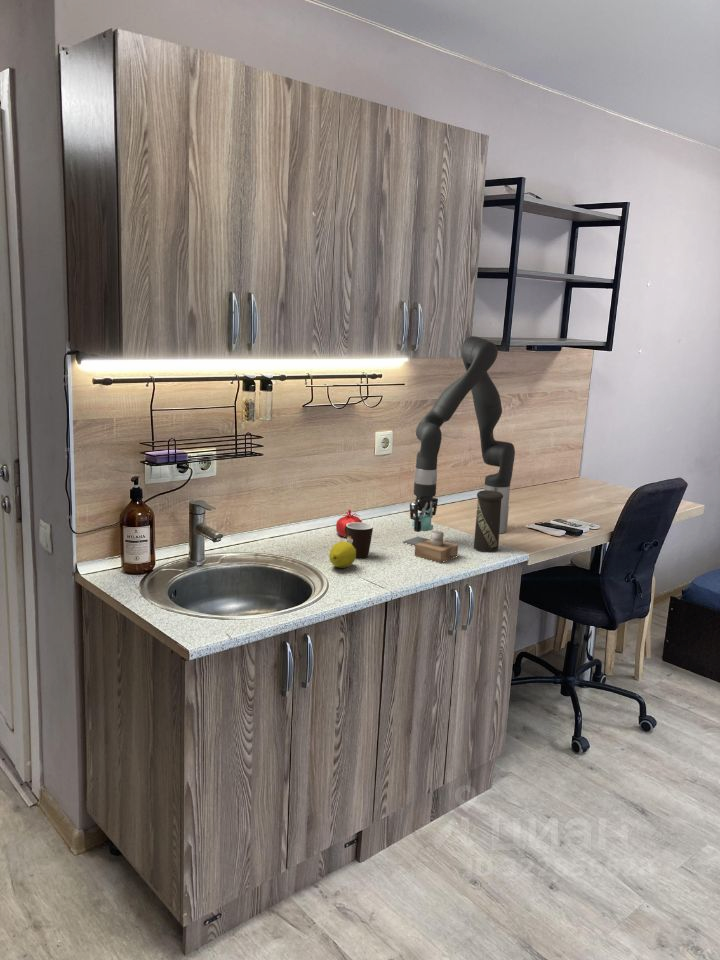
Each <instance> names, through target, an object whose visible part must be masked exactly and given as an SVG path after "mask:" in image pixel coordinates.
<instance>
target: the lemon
mask: <svg viewBox="0 0 720 960" xmlns="http://www.w3.org/2000/svg"><path fill="white" fill-rule="evenodd" d="M328 557H329V561H330V563H331V564H332V565H333V566H334V567H336V568H338V569H339V568H341V569H344V568H348V567H350V566H351V565H352V564H353V563H355V560H356V559H355V558H356V550H355V548H354V546H353V545H352V544H350V543H349V542H347V541H345V540H343V541H339V542H337V543H335V544H333V546H332V547H331V548H330V550H329V553H328Z"/></svg>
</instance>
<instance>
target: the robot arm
mask: <svg viewBox="0 0 720 960" xmlns="http://www.w3.org/2000/svg"><path fill="white" fill-rule="evenodd" d="M460 354H461V360H462V362H463V365H464V367H465V372H464V374H463V375H462V376H461V377H459V378H458V379H457V380H455V381H453V382H452V383H451V384H450V385H449V386H447V387H446V388H445V389H443V391H442V392H441V393H440V395H439V397H438V398H437V400H436V402H435V403H434V405H433V407H432V408H431V409H430V410H429V411H428V412H427V413H426V414H425V416H424V417H422V419H421V420H420V422H419V423H418V424H417V427H416V430H415V436H416V438H417V439H418V440H419V441H420V450H419V451H418V452H417V454H416V459H415V460H416V463H415V470H414V471H415V472H414V477H413V478H414V479H413V480H414V482H413V495H414V496H415V501H414V502H410V503H409V514H410V515H409V519H410V520H413V521H414V526H413V531H414V532H417V533H419V532H422V531H421V519H422V516H423V515H424V514H426V515H430V516H431V519H433V516H436V515H437V514H436V513H437V510H438V502H439V499H438V498H437V497H435V496H436V494H437V480H438V471H437V470H438V455H439V452H440V448H441V444H442V440H443V439H442V436H443V435H442V430H441V427H442V426H443V424H444V423H445V422H448V421H450V420H451V419H452V417H453V415H454V414H455V412H456V411H457V409H458V408H459V406H460V404H461V403H462V402H463V400H464V399H465V397H466V396H467V395H468V393H470V391H471V396H472V401H473V408H474V412H475V415H476V419H477V426H478V431H479V437H480V438H479V439H480V449H481V458H482V460H483V462H484V464H486V465H488V466H491V467H499V469H498V472H496V473H492V474H489V475H487V476H485V479H484V488H483V490H490V491H497V492H500V493H501V494H502V495H503V498H502V500H501V513H500V531H499V534H504V533H506V532H507V530H508V524H509V523H508V520H509V510H510V506H509V505H510V494H511V493H510V491H511V489H510V488H511V482H512V477H513V473H514V472H513V471H514V470H513V469H514V464H515V455H516V451H515V445H514V444H513V443H512V442H508V441H502V440H501V441H500V440H496V439H495V438H494V430H495V427H496V425H497V424H498V423H499V420H500V419H501V417H502V412H503V406H502V400H501V396H500V393H499V391H498V388H497V387H496V385H495V383H494V382H493V380H492V379H491V377H490V375H489V373H488V371H489V370H490V369H491V367H492V366H493V365H494V364H495V362H496V361H497V358H498V347H497V345H496V344H495V343H494V342H492V341H489V340H487V339H485V338H482V337H479V336H475V335H473V336H468V337H466V338H465V339H464V341H463V343H462V345H461V353H460ZM418 514H419V517H418Z"/></svg>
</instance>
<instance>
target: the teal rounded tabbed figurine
mask: <svg viewBox="0 0 720 960" xmlns="http://www.w3.org/2000/svg"><path fill="white" fill-rule="evenodd" d="M418 517H419V514H418ZM411 526H412V527H414V520H413V521H412V523H411ZM433 530H434V525H433V524H432V518H431V516H430V515H426V514H425V513H424V515H423V516H422V519H421V531H420V532H429V531H433Z"/></svg>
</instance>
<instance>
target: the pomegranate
mask: <svg viewBox="0 0 720 960" xmlns="http://www.w3.org/2000/svg"><path fill="white" fill-rule="evenodd" d="M339 516H341V514H338V517H339ZM353 522H362V523H364V522H363V521H362V520H361V519H360V515H359V514H357V513H353V514H352V510H351V509H348V511H347V512H345V514H342V516H341V517H340V518H339V519H338V520H337V521H336V522H335V523H336V524H335V530H336V533H337V535H339V536H341V537H344V538H345V539H347V536H346V533H345V526H346V525H347V524H348V523H353Z"/></svg>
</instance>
